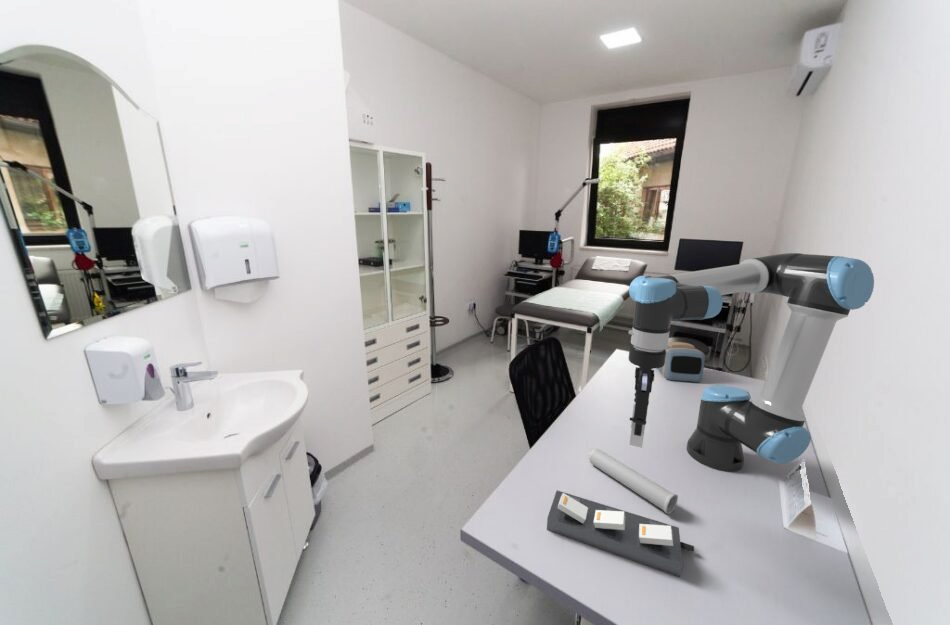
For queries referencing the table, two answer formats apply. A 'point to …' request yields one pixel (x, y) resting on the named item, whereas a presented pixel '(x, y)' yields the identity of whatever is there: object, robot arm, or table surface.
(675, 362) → the alarm clock
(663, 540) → the block
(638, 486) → the tube
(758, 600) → the table surface
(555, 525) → the power strip
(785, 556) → the table surface
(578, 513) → the block
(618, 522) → the block
